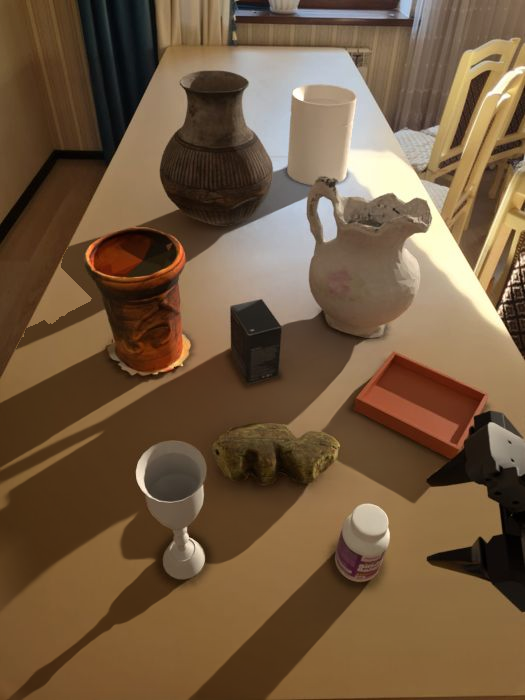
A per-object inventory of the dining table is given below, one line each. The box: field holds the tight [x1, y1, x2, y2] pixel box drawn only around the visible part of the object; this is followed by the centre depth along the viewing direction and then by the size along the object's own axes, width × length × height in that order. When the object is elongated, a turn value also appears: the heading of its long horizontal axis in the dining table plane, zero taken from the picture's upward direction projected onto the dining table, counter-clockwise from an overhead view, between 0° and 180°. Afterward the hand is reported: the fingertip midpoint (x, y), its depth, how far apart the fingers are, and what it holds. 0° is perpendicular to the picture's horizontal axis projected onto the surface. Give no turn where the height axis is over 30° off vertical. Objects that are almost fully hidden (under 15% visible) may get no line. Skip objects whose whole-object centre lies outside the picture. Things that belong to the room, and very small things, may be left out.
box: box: [229, 298, 283, 385], centre depth 86 cm, size 8×6×11 cm
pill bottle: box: [334, 503, 391, 583], centre depth 62 cm, size 5×5×10 cm
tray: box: [353, 350, 490, 460], centre depth 83 cm, size 16×13×3 cm
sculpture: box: [211, 422, 341, 486], centre depth 74 cm, size 18×5×10 cm
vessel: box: [83, 226, 192, 377], centre depth 85 cm, size 14×14×20 cm
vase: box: [159, 70, 274, 227], centre depth 116 cm, size 25×25×30 cm
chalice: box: [135, 439, 208, 580], centre depth 59 cm, size 7×7×18 cm
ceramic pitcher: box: [306, 176, 433, 339], centre depth 92 cm, size 22×20×25 cm
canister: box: [286, 83, 358, 186], centre depth 139 cm, size 16×16×20 cm
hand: (428, 519), depth 56 cm, fingers open, 9 cm apart
